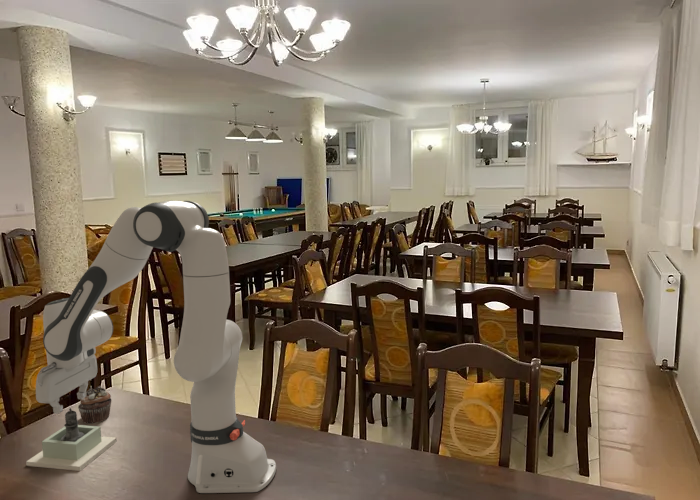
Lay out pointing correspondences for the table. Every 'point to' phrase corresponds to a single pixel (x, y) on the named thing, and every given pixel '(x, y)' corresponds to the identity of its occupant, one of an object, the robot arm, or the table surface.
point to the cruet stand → (71, 449)
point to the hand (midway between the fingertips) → (70, 405)
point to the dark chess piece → (71, 427)
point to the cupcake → (95, 405)
